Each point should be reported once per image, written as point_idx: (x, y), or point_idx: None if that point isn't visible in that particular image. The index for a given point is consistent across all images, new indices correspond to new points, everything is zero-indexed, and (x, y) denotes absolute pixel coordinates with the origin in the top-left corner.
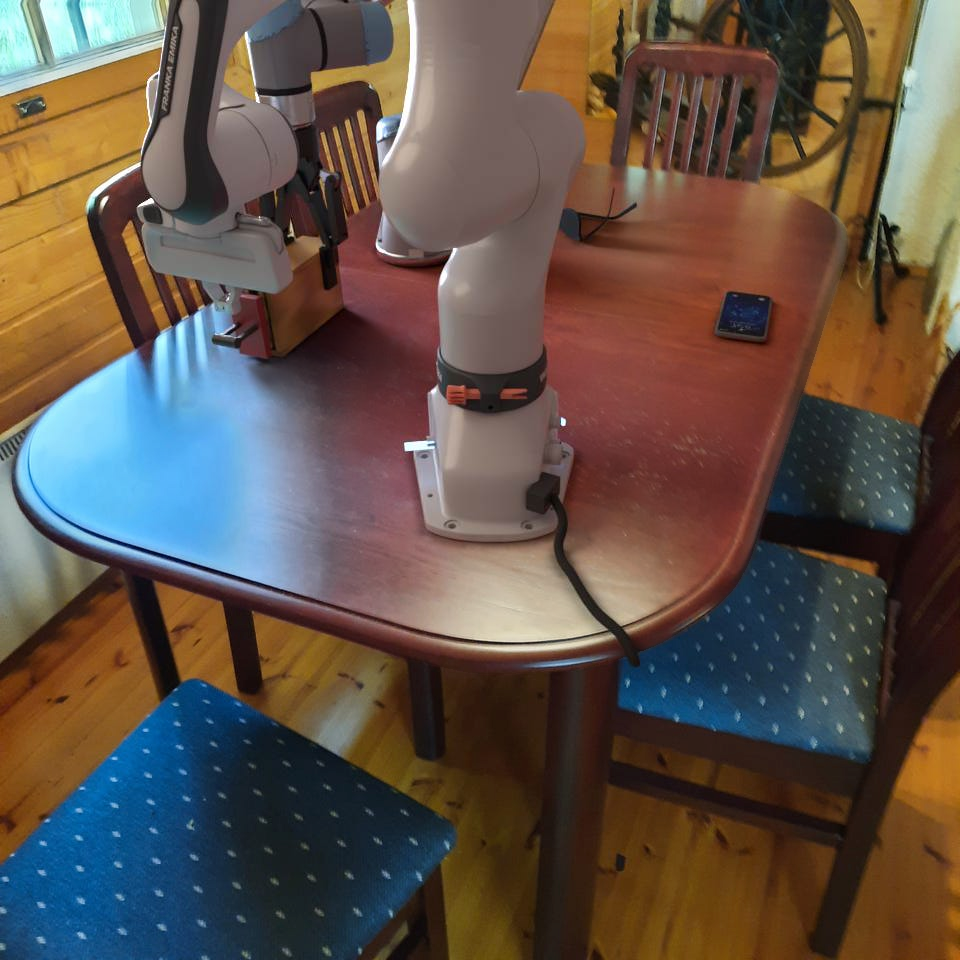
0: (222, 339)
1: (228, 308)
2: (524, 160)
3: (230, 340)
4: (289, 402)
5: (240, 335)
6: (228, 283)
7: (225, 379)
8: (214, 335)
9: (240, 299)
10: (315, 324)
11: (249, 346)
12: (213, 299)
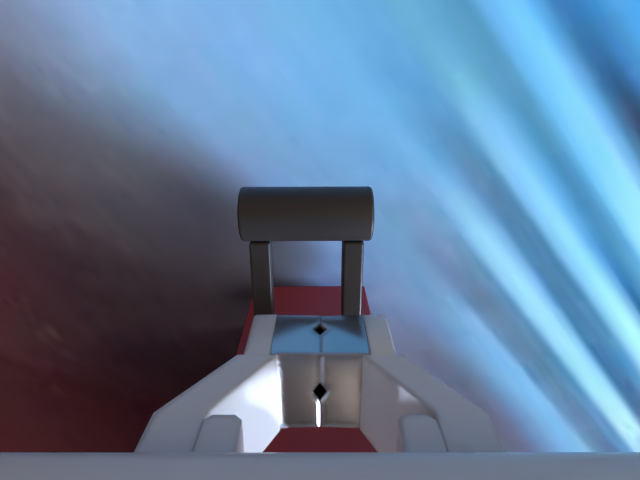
0: (311, 199)
1: (280, 331)
2: None
3: (264, 202)
4: (29, 99)
5: (265, 267)
6: (107, 468)
7: (334, 153)
8: (363, 210)
9: (316, 448)
10: None
11: (317, 303)
12: (391, 357)
